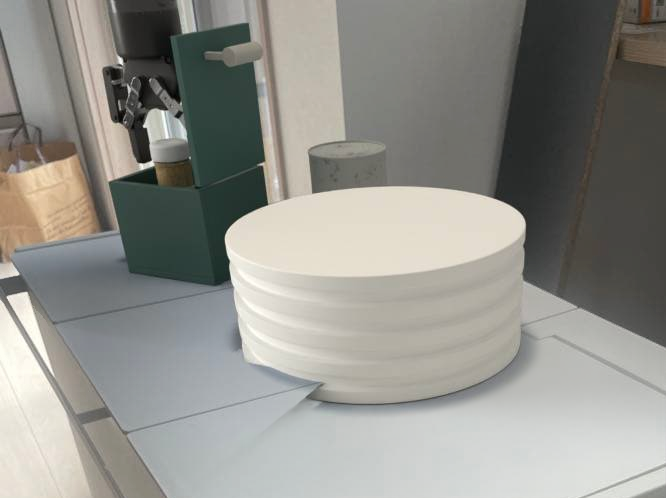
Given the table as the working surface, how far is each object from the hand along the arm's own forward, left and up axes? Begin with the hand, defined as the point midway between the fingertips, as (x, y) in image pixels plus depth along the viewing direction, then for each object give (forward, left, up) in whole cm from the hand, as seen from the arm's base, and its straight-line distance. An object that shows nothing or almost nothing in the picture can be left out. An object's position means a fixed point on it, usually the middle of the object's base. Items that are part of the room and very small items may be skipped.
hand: (172, 164), depth 101 cm
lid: (+8, 0, +7) cm, 11 cm away
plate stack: (+35, -13, -12) cm, 39 cm away
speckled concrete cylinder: (+18, +11, -12) cm, 24 cm away
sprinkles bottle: (0, 0, -11) cm, 11 cm away
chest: (+2, 0, -12) cm, 12 cm away
